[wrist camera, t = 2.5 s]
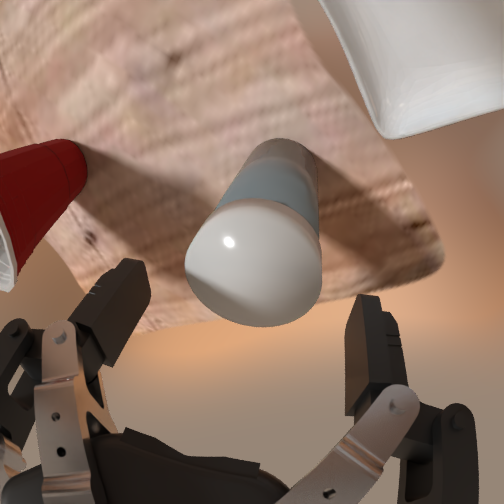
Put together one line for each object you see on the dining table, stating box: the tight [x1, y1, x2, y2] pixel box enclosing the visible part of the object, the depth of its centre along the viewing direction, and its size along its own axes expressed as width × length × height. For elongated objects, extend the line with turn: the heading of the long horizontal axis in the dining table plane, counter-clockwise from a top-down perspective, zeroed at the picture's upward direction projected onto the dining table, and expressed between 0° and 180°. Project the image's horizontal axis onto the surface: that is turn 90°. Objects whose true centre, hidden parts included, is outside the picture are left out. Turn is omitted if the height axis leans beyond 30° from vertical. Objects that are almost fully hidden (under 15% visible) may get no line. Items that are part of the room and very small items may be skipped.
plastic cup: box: [0, 139, 87, 292], centre depth 18 cm, size 11×11×12 cm
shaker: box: [185, 138, 322, 327], centre depth 16 cm, size 5×5×12 cm
